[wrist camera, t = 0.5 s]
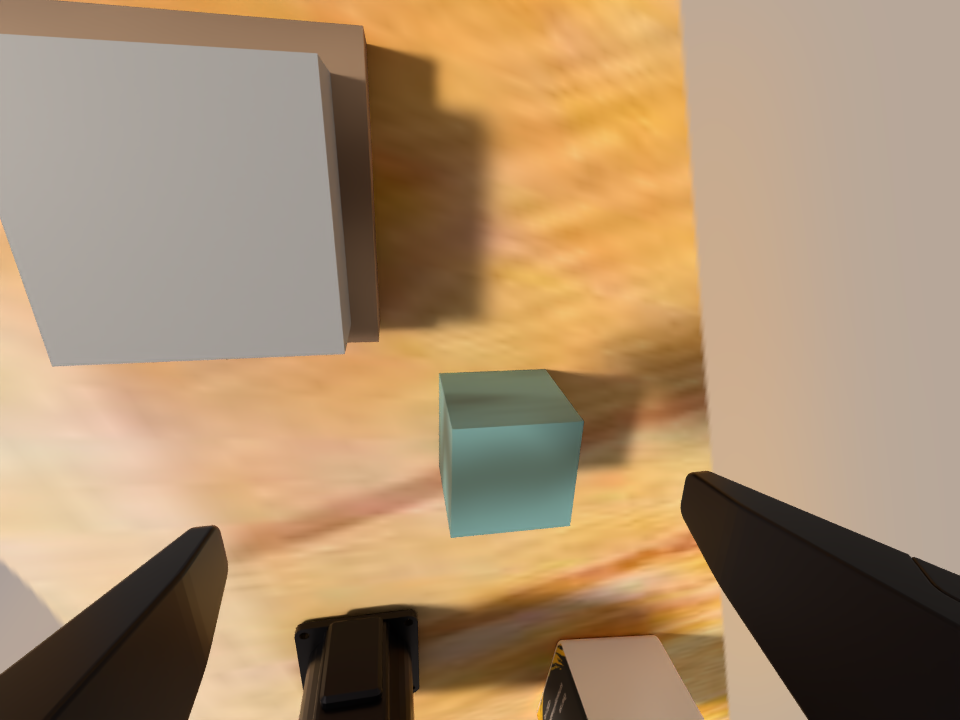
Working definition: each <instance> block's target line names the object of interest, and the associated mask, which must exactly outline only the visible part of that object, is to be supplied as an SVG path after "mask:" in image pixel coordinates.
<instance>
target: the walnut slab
mask: <svg viewBox="0 0 960 720" xmlns="http://www.w3.org/2000/svg"><path fill="white" fill-rule="evenodd" d="M0 34H12V35H28V36H45V37H61V38H77V39H93V40H109V41H125V42H141V43H157V44H174V45H190V46H206V47H222V48H238V49H254V50H270V51H286V52H303V53H317V54H318V55H319V57H320V58H321V60H322V61H323V63H324V64H325V66H326V67H327V69H328V70H329V72H330V76H331V88H332V100H333V112H334V124H335V136H336V148H337V160H338V172H339V184H340V196H341V208H342V220H343V232H344V244H345V256H346V268H347V280H348V292H349V304H350V316H351V327H350V332H349V336H348V341H347V343H348V342H379V328H380V313H379V293H378V272H377V251H376V231H375V210H374V189H373V169H372V148H371V128H370V107H369V86H368V66H367V45H366V39H365V34H364V29H363V26H359V25H347V24H335V23H322V22H310V21H298V20H286V19H274V18H262V17H250V16H238V15H226V14H214V13H201V12H189V11H177V10H165V9H153V8H141V7H129V6H117V5H105V4H93V3H80V2H68V1H56V0H0Z"/></svg>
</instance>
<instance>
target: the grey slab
mask: <svg viewBox="0 0 960 720" xmlns="http://www.w3.org/2000/svg"><path fill="white" fill-rule="evenodd" d="M0 219H1V222H2V225H3V227H4V230H5V233H6V236H7V239H8V242H9V244H10V247H11V250H12V253H13V256H14V259H15V262H16V264H17V267H18V270H19V273H20V276H21V279H22V282H23V284H24V287H25V290H26V293H27V296H28V299H29V302H30V304H31V307H32V310H33V313H34V316H35V319H36V322H37V324H38V327H39V330H40V333H41V336H42V339H43V342H44V344H45V347H46V350H47V353H48V356H49V359H50V362H51V364H52V366H74V365H98V364H121V363H145V362H168V361H192V360H215V359H239V358H262V357H286V356H309V355H333V354H345V350H346V346H347V341H348V336H349V332H350V327H351V316H350V304H349V292H348V280H347V268H346V256H345V244H344V232H343V220H342V208H341V196H340V184H339V172H338V160H337V148H336V136H335V124H334V112H333V100H332V88H331V76H330V72H329V70H328V69H327V67H326V66H325V64H324V63H323V61H322V60H321V58H320V57H319V55H318V54H317V53H303V52H286V51H270V50H254V49H238V48H222V47H206V46H190V45H174V44H157V43H141V42H125V41H109V40H93V39H77V38H61V37H45V36H28V35H12V34H0Z"/></svg>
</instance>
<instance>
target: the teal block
mask: <svg viewBox="0 0 960 720" xmlns="http://www.w3.org/2000/svg"><path fill="white" fill-rule="evenodd" d="M583 425H584V421H583V419H582V418H581V417H580V415H579V414H578V413H577V411H576V410H575V409H574V407H573V406H572V405H571V403H570V402H569V400H568V399H567V398H566V396H565V395H564V394H563V392H562V391H561V390H560V388H559V387H558V386H557V384H556V383H555V382H554V380H553V379H552V377H551V376H550V375H549V373H548V372H547V371H546V369H537V370H512V371H487V372H463V373H439V468H440V474H441V480H442V486H443V492H444V499H445V505H446V511H447V517H448V523H449V529H450V535H451V538H454V537H464V536H474V535H484V534H494V533H504V532H514V531H524V530H534V529H544V528H554V527H564V526H570V522H571V514H572V507H573V499H574V492H575V484H576V477H577V469H578V462H579V455H580V447H581V440H582V432H583Z"/></svg>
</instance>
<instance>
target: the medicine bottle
mask: <svg viewBox="0 0 960 720" xmlns="http://www.w3.org/2000/svg"><path fill="white" fill-rule="evenodd" d="M537 716H538V720H704V718H703V716H702V715H701V713H700V711H699V709H698V707H697V706H696V704H695V702H694V700H693V699H692V697H691V695H690V693H689V691H688V690H687V688H686V686H685V684H684V682H683V681H682V679H681V677H680V675H679V674H678V672H677V670H676V668H675V666H674V665H673V663H672V661H671V659H670V658H669V656H668V654H667V652H666V650H665V649H664V647H663V645H662V643H661V641H660V640H659V638H658V637H657V636H655V635H642V636H624V637H606V638H589V639H571V640H560V641H559V642H558V643H557V646H556V649H555V652H554V656H553V659H552V662H551V666H550V669H549V673H548V676H547V679H546V683H545V686H544V689H543V693H542V696H541V700H540V703H539V706H538V710H537Z"/></svg>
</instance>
